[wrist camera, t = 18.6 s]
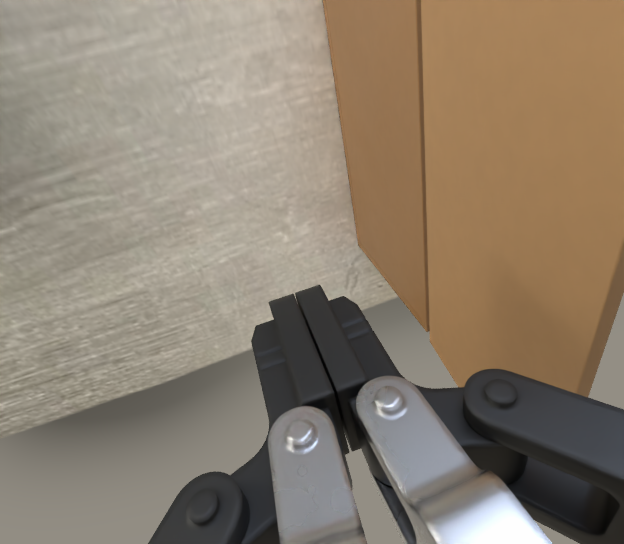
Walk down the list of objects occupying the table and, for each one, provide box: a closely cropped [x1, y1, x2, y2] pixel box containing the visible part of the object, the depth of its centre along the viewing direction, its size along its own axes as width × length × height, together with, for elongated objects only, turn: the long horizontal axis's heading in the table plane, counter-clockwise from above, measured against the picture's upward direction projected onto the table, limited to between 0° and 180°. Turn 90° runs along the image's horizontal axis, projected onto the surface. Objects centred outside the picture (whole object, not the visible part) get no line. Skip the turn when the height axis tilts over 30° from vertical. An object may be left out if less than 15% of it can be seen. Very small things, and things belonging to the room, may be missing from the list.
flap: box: [421, 0, 624, 397], centre depth 12 cm, size 8×16×1 cm
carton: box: [323, 0, 430, 332], centre depth 21 cm, size 17×16×10 cm
